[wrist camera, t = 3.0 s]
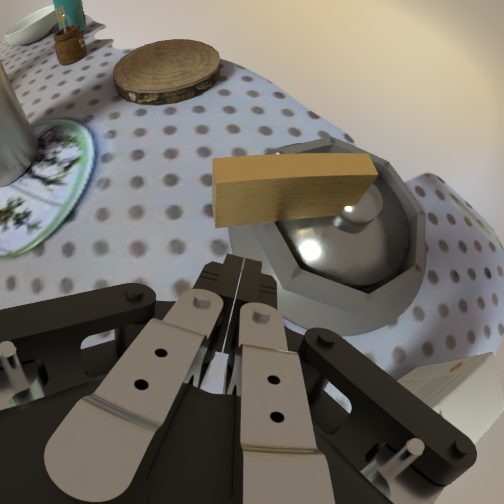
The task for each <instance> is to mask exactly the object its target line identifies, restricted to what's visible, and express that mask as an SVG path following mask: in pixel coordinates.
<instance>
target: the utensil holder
mask: <svg viewBox="0 0 504 504" xmlns="http://www.w3.org/2000/svg"><path fill="white" fill-rule="evenodd" d="M61 7H62V11H63V15H62V13H61V9H60V7H59V12H60V17H59V15H58V11H57V8H56V14H57V18H58V21H60V23H59V24H61V21H62V24H63V29H62V28H61V30H59V31H58V32H56V33H55V34H54V41H56V42H55V51H56V54H57V57H58V60H59V63H60V64H61V65H69V64H72V63H74V62H76V61H78V60H80V59H81V58H83V57H84V56H85V54H86V46H85V41H84V37H83V34H82V33H81V32H80V27H79V25H77V24H74V25H70V26H67V27H65V25H66V24H65V25H64V21H65V20H64V19H65V18H66V16H67V15H66V14H65V12H64V8H63V6H61ZM65 15H66V16H65ZM67 19H69V18H67ZM70 22H71V20H70ZM70 22H69V23H70ZM58 26H59V25H58Z"/></svg>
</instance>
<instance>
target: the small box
mask: <svg viewBox="0 0 504 504" xmlns="http://www.w3.org/2000/svg"><path fill="white" fill-rule="evenodd" d="M397 382H399V383H400V384H401V385H402V386H404V387H405V388H406V389H407V390H409V391H410V392H411V393H413V394H414V395H415V396H416V397H418V398H419V399H420V400H421V401H423V402H424V403H425V404H427V405H428V406H429V407H430V408H432V409H433V410H434V411H436V412H437V413H438V414H439V415H441V416H442V417H443V418H445V419H446V420H447V421H448V422H450V423H451V424H452V425H454V426H455V427H456V428H457V429H459V430H460V431H461V432H463V433H464V434H465V435H467V436H468V437H469V438H470V439H471V440H472V442H473V443H474V444H475V443H476V442H477V441H478V440H479V439H480V438H481V437H482V436H483V435H484V433H485V432H486V431H487V430H488V429H489V428H490V427H491V426H492V425H493V423H494V422H495V421H496V420H497V419H498V417H499V416H500V415H501V414H502V413H503V411H504V397H503V392H502V387H501V382H500V378H499V374H498V370H497V366H496V362H495V358H494V355H493V353H492V352H489V353H485V354H481V355H476V356H472V357H468V358H463V359H458V360H453V361H448V362H443V363H437V364H431V365H425V366H418V367H416V368H414V369H413V370H412V371H410V372H409V373H407V374H406V375H404V376H403V377H401V378H400V379H398V380H397Z"/></svg>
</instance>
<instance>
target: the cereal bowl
mask: <svg viewBox="0 0 504 504" xmlns="http://www.w3.org/2000/svg"><path fill="white" fill-rule="evenodd" d="M55 15H56V13H55V9H54V5H51V6H48V7H45V8H42V9H40V10H38V11H36V12H34V13H32V14H30V15H28V16H26V17H25V18H23V19H22V20H20V21H19V22H17V23H16V24H14V25H13V26H12V27H11V28H10V29H9V30H7V32H6V33H5V38H6V40H7V42H8V43H9V44H10V45H13V46H18V45H23V44H26V45H27V44H30V43H33V42H35V41H37V40H39V39H40V38H42V37H44V36H45V35H46V34H48V33H49V31H50V29H51V28H52V27H53V26H54V25H55V24H56V23H57V22H58V21H57V17H56V16H55Z"/></svg>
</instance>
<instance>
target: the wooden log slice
mask: <svg viewBox="0 0 504 504" xmlns="http://www.w3.org/2000/svg"><path fill="white" fill-rule="evenodd" d="M219 73H220V57H219V53H218V52H217V51H216V50H215V49H214V48H213V47H212V46H209V45H207V44H205V43H202V42H198V41H193V40H183V39H173V40H165V41H158V42H154V43H151V44H147V45H144V46H142V47H139V48H137V49H135V50H133V51H131V52H130V53H128V54H127V55H125V56H124V57H122V58H121V59H120V61H119V62H118V63H117V64H116V65H115V68H114V71H113V77H114V81H115V86H116V89H117V92H118V94H119V96H121V97H122V98H123V99H125V100H126V101H128V102H132V103H135V104H139V105H157V106H158V105H165V104H173V103H178V102H181V101H184V100H188V99H191V98H194V97H196V96H198V95H200V94H202V93H204V92H206V91H208V90H209V89H210V88H211V87H212V86H213V85H214V84H215V83H216V82H217V79H218V76H219Z"/></svg>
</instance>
